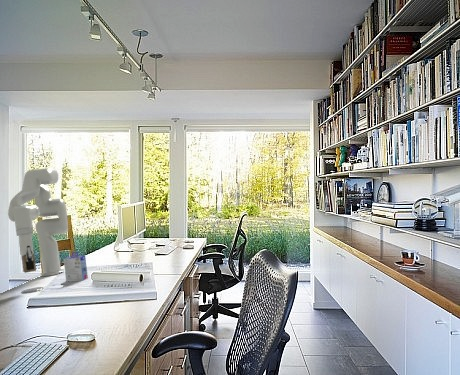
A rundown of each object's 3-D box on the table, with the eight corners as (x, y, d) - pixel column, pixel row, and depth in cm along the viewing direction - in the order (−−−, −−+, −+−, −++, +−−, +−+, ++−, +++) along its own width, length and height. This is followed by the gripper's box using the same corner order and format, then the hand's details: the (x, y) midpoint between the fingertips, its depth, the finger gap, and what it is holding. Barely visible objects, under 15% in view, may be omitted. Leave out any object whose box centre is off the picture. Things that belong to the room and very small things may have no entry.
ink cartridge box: (88, 278, 239) (85, 250, 238) (83, 280, 233) (79, 252, 233) (71, 279, 241) (68, 252, 240) (65, 282, 235) (62, 254, 235)
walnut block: (23, 271, 224) (21, 255, 224) (34, 269, 226) (32, 253, 226) (25, 272, 220) (23, 256, 219) (36, 270, 222) (34, 254, 222)
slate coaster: (19, 291, 225) (19, 290, 225) (41, 286, 230) (41, 286, 230) (23, 294, 217) (23, 293, 217) (45, 289, 222) (45, 289, 222)
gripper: (13, 232, 228) (18, 268, 228) (19, 233, 213) (24, 272, 214) (30, 229, 232) (34, 265, 232) (36, 231, 217) (41, 269, 218)
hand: (29, 268), depth 223 cm, fingers closed on walnut block, 5 cm apart
